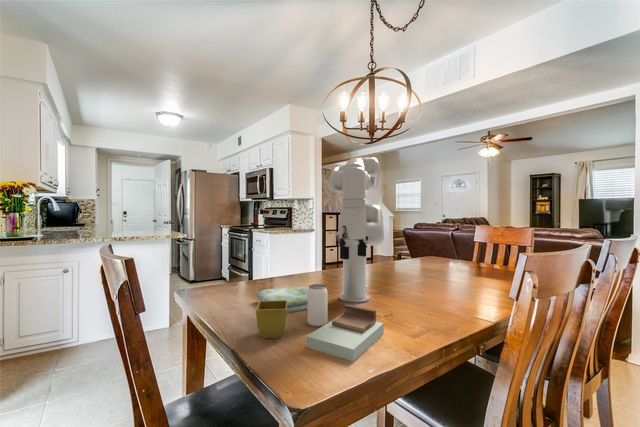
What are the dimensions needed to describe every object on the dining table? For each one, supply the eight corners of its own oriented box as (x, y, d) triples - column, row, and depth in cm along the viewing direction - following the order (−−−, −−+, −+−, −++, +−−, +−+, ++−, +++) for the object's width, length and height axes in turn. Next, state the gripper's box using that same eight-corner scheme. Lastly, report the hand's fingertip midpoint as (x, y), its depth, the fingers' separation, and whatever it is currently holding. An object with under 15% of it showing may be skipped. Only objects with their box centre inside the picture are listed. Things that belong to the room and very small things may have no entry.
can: (325, 327, 94) (325, 289, 94) (305, 326, 95) (305, 288, 95) (329, 320, 100) (329, 284, 100) (310, 318, 102) (310, 283, 102)
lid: (346, 315, 95) (346, 304, 95) (376, 321, 90) (376, 309, 90) (331, 324, 88) (332, 312, 88) (363, 332, 83) (363, 319, 82)
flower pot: (259, 329, 93) (259, 300, 92) (287, 328, 93) (287, 299, 93) (255, 342, 84) (255, 310, 84) (287, 341, 85) (287, 309, 84)
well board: (342, 323, 97) (342, 314, 97) (383, 333, 90) (383, 323, 90) (306, 347, 81) (306, 336, 81) (353, 361, 73) (353, 349, 73)
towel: (325, 306, 116) (325, 293, 116) (274, 316, 105) (274, 302, 105) (302, 295, 131) (302, 283, 131) (256, 303, 120) (256, 290, 120)
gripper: (359, 206, 108) (358, 254, 108) (327, 204, 95) (327, 259, 95) (377, 205, 103) (377, 256, 103) (347, 204, 90) (346, 261, 90)
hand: (353, 257), depth 99 cm, fingers open, 9 cm apart
